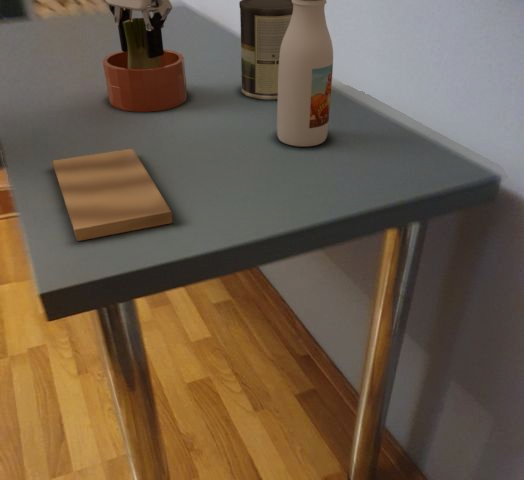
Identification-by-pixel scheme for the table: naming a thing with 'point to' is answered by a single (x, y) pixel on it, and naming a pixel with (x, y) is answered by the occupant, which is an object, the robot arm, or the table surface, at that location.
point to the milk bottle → (305, 76)
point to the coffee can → (262, 45)
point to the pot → (145, 83)
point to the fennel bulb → (138, 45)
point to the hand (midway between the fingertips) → (142, 52)
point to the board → (109, 194)
